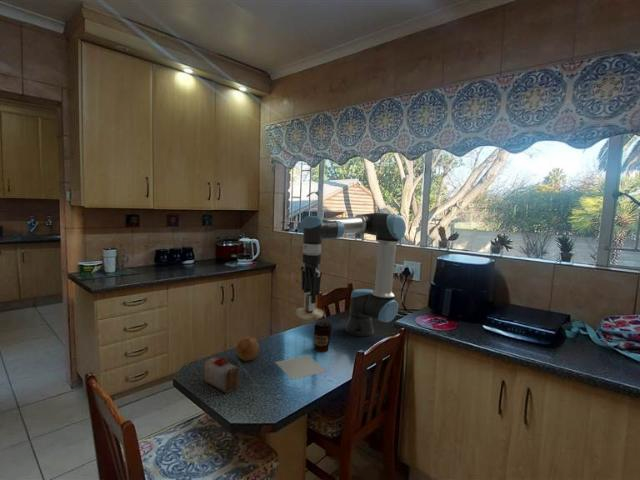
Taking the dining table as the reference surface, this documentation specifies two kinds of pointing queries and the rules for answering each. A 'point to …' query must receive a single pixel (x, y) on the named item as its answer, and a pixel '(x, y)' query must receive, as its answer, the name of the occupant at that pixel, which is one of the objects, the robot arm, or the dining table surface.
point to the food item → (221, 374)
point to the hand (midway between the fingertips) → (309, 309)
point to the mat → (300, 367)
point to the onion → (248, 348)
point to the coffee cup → (322, 336)
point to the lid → (305, 312)
